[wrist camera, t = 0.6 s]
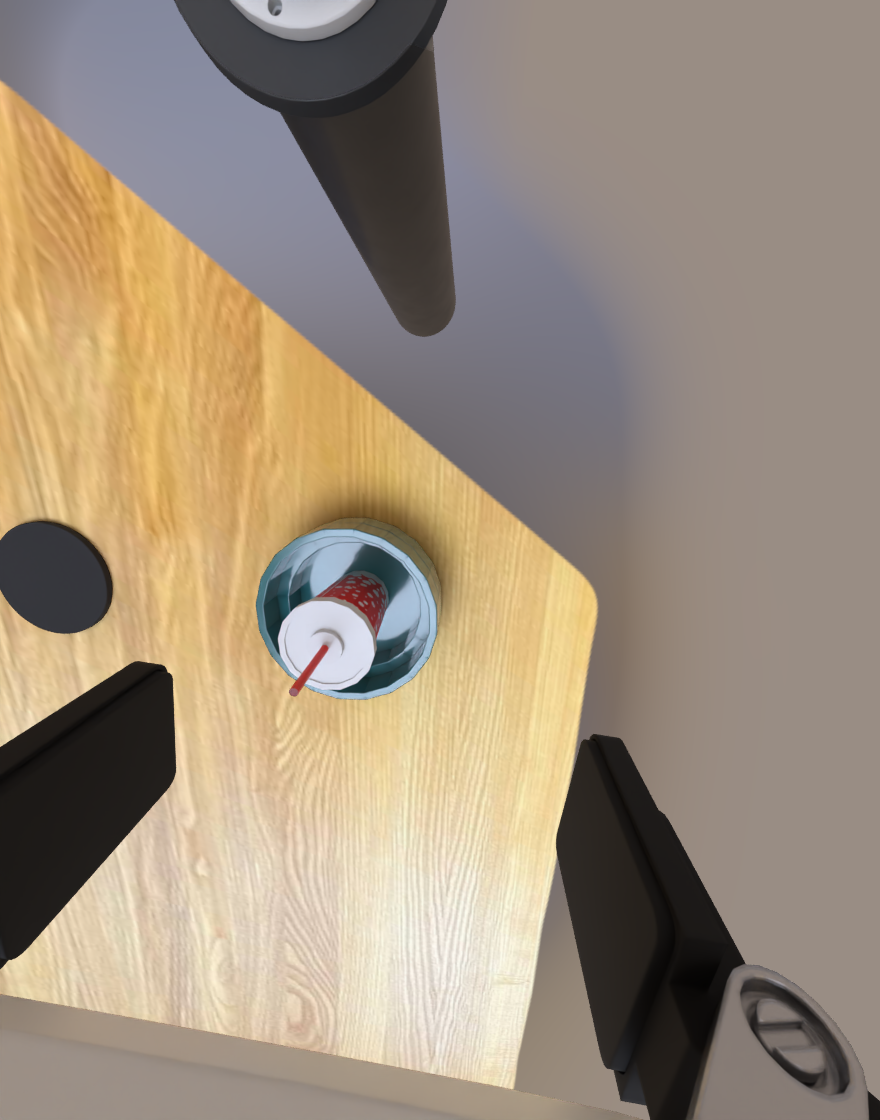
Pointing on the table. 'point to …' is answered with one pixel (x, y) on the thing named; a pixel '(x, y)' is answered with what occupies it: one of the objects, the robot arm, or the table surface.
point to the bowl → (337, 554)
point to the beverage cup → (334, 633)
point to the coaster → (54, 577)
